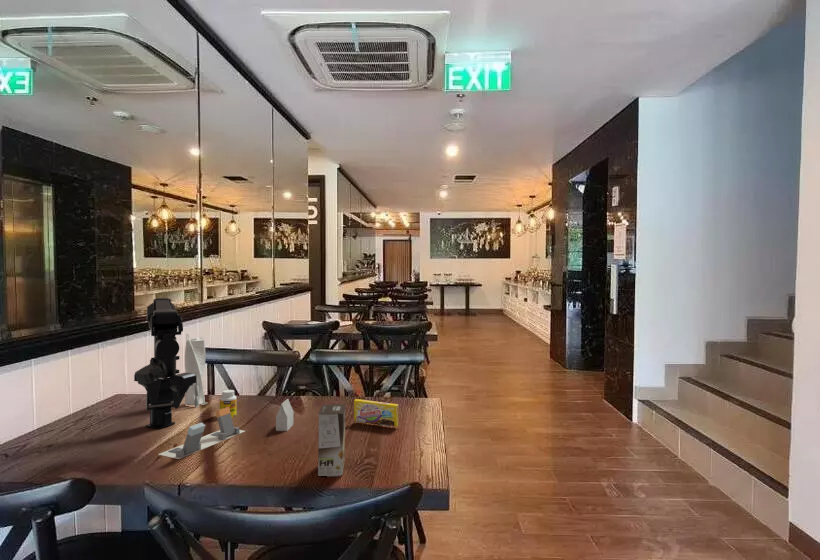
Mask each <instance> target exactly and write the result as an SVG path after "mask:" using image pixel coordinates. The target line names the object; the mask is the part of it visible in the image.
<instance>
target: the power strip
mask: <svg viewBox="0 0 820 560" xmlns="http://www.w3.org/2000/svg"><path fill="white" fill-rule="evenodd" d="M234 429H235V433H232V434H230V435H227V436H226V433H222V432H220V429H219V430H216V431H214V432H211V433H209V434H206V435H202V437H201V440H200V443H199V446H198V449H197V451H195V452H192V453H190V454H188V455H184V450H182V449H183V446H184V443H183V444H180V445H178V446H176V447H172V448H171V449H168V450H166V451H162V452H161V453H158V456H164V457H168V458H172V459H177V460H180V459H183V458H185V457H188V456H190V455H192V454H195V453H197V452H199V451H202V450H205V449H207V448H209V447H211V446H214V445H216V444H218V443H220V442H223V441H226V440H228V439H230V438H233V437H236V436H238V435H240V434H242V433H245V432H246V430H242V429H240V427H238V426H237V427H236V426H234Z"/></svg>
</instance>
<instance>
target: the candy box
mask: <svg viewBox="0 0 820 560" xmlns="http://www.w3.org/2000/svg"><path fill="white" fill-rule="evenodd" d="M353 418H354V421H357V422H364V423H371V424H378V425H386V426H395V427H397V426H398V427H399V404H398V403H390V402H383V401H377V400H376V401H374V400H367V399H359V398H356V399H354V400H353ZM354 421H353V422H354Z"/></svg>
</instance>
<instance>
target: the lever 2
mask: <svg viewBox="0 0 820 560" xmlns="http://www.w3.org/2000/svg"><path fill="white" fill-rule="evenodd" d="M214 414H215V417H216V419H217V424H218V427H219V430H220V432H222V433H226V436H227V435H230V434H232V433H235V429H234V427H235V426H234V422H233V417H232V418H231V414H230V409H229V407H226V408H223V409H220V408H219V409H218V410H215V411H214Z"/></svg>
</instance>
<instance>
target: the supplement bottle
mask: <svg viewBox="0 0 820 560" xmlns="http://www.w3.org/2000/svg"><path fill="white" fill-rule="evenodd" d="M221 395H222V396H221V397H219V410H220V409H223V408H226V407H229V409H230V414H231V418H232V419H233V418H235V417H236V416H237V408H238V407H237V403H238V402H237V401H238V398H237V395H235V390H234V389H225V390H223V391H222V393H221Z"/></svg>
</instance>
